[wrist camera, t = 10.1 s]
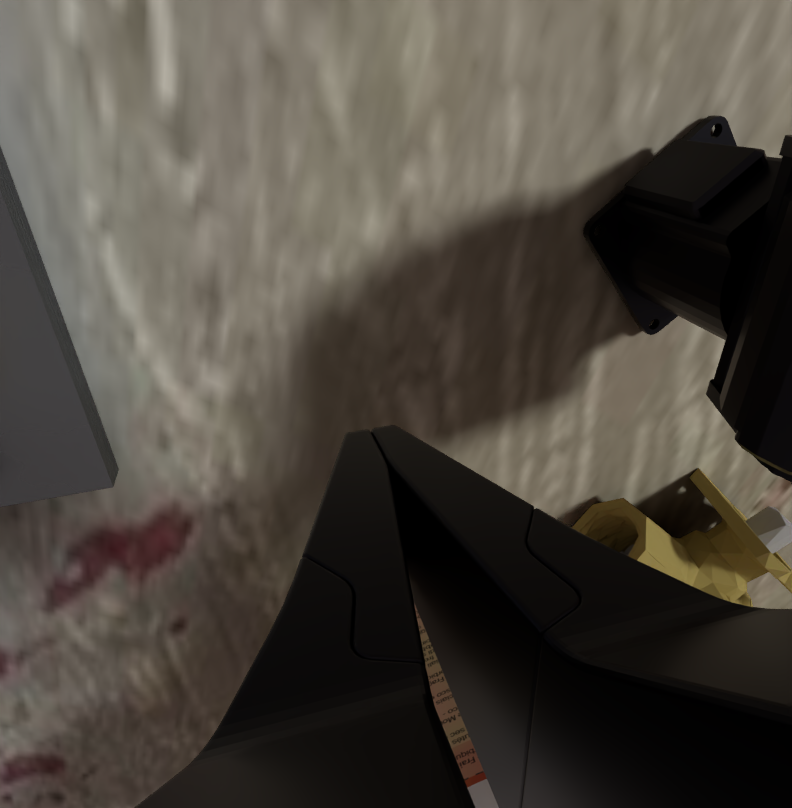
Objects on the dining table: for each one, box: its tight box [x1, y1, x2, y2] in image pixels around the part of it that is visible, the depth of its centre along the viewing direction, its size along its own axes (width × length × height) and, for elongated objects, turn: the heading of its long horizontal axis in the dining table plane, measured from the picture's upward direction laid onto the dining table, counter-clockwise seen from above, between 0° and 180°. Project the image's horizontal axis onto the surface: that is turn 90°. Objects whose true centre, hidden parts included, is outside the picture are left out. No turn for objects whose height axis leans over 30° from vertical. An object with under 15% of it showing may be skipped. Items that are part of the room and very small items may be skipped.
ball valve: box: [572, 468, 792, 607], centre depth 30 cm, size 13×10×10 cm
